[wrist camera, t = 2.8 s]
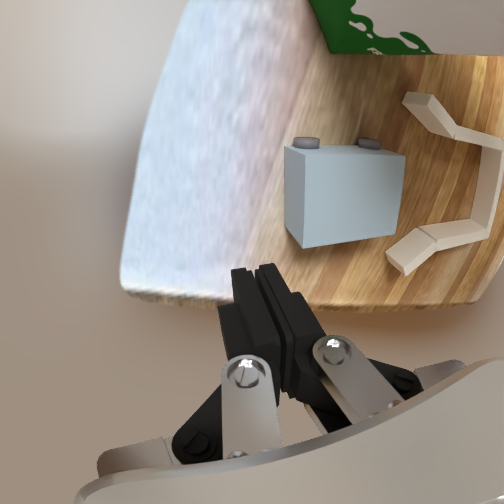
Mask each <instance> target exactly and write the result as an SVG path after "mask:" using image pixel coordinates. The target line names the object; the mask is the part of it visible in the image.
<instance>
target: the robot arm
mask: <svg viewBox="0 0 504 504" xmlns="http://www.w3.org/2000/svg"><path fill="white" fill-rule="evenodd" d="M231 277H232V287H233V297H234V303H233V304H227V305H221V306H218V313H219V319H220V325H221V330H222V336H223V340H224V345H225V349H226V354H227V358H228V362H227V363H226V364H225V366H224V367H223V370H222V383H221V385H220V386H219V387H218V388H217V389H216V390H215V391H214V393H212V395H211V396H210V397H209V398H208V399H207V400H206V401H205V402H204V403H203V404H202V406H201V407H200V408H199V409H198V410H197V411H196V412H195V413H194V414H193V415H192V416H191V417H190V419H189V420H188V421H187V422H186V423H185V424H184V425H183V426H182V427H181V428H180V429H179V430H178V431H177V432H176V434H175V435H174V436H172V437H169V438H165V439H163V438H162V437H160V438H156V439H152V440H149V441H145V442H141V443H137V444H133V445H128V446H124V447H120V448H115V449H110V450H107V451H105V452H103V453H102V454H101V455H100V456H99V458H98V461H97V471H98V475H99V479H96V480H94V481H92V482H90V483H88V484H86V485H85V486H83V487H82V488H81V489H80V490H79V491H78V492H77V494H76V496H75V498H74V501H73V504H504V358H490V359H484V360H480V361H477V362H475V363H472V364H470V365H468V366H466V365H465V364H464V363H463V362H461V361H458V360H449V361H445V362H441V363H438V364H434V365H430V366H425V367H421V368H417V369H415V370H414V372H411V371H409V370H406V369H403V368H399V367H396V366H392V365H389V364H385V363H382V362H378V361H375V360H372V359H368V358H366V357H365V356H364V355H363V354H362V352H361V351H360V350H359V349H358V348H357V347H356V346H355V345H354V343H352V342H351V341H350V340H349V339H347V338H345V337H342V336H338V335H329V336H326V334H325V332H324V330H323V329H322V327H321V326H320V324H319V322H318V320H317V319H316V317H315V316H314V314H313V312H312V311H311V309H310V307H309V306H308V304H307V302H306V301H305V299H304V297H303V296H302V294H301V293H300V292H293V293H291V292H290V290H289V288H288V286H287V285H286V283H285V281H284V279H283V278H282V276H281V274H280V272H279V271H278V269H277V267H276V265H275V264H274V263H270V264H264V265H260V266H259V269H256V270H255V278H254V275H253V273H252V271H251V270H250V271H247V270H246V268H239V269H232V270H231ZM280 389H281V391H282V392H287V393H288V396H289V398H290V399H291V398H296V400H298V401H300V402H302V403H304V407H305V409H306V410H307V412H308V414H309V415H310V417H311V418H312V420H313V421H314V423H315V424H316V426H317V427H318V429H319V430H320V432H321V434H322V435H323V436H320V437H317V438H314V439H310V440H308V441H304V442H301V443H297V444H294V445H290V446H287V447H283V446H282V439H281V433H280V426H279V420H278V414H277V407H278V405H279V395H280Z"/></svg>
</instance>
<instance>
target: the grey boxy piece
mask: <svg viewBox="0 0 504 504" xmlns="http://www.w3.org/2000/svg"><path fill="white" fill-rule="evenodd" d="M319 142H320V139H318V138H311V137H296V138H294V146H284V182H285V214H284V226H285V227H286V228H287V229H288V231H289V232H290V233H291V234H292V236H293V237H294V238H295V239H296V241H297V242H298V243H299V245H300V246H301V247H302V248H303V249H304V248H310V247H317V246H323V245H330V244H336V243H343V242H349V241H356V240H362V239H369V238H375V237H381V236H388V235H394V234H395V232H396V226H397V221H398V215H399V209H400V202H401V196H402V188H403V180H404V172H405V162H406V156H404V155H401V154H398V153H395V152H392V151H389V150H386V149H383V148H380V145H381V141H378V140H374V139H367V138H358V145H319Z"/></svg>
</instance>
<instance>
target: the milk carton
mask: <svg viewBox="0 0 504 504" xmlns="http://www.w3.org/2000/svg"><path fill="white" fill-rule="evenodd" d="M310 3H311V5H312V7H313V9H314V12H315V14H316V16H317V19H318V21H319V24H320V26H321V29H322V31H323V34H324V36H325V39H326V42H327V44H328V47H329V50H330V53H331V54H337V53H346V54H375V55H431V54H456V55H477V56H504V0H310Z"/></svg>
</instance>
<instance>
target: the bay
mask: <svg viewBox="0 0 504 504" xmlns="http://www.w3.org/2000/svg"><path fill="white" fill-rule="evenodd" d="M402 104H403V105H404V106H405V107H406V108H407V109H408V110H409V111H410V112H411V113H412V114H413V115H414V116H415V117H416V118H417V119H418V120H419V121H420V122H421V123H422V124H423V126H424V127H425V128H426V129H427V130H428V131H429V132H431V133H434V134H437V135H441V136H444V137H448V138H451V139H455V140H459V141H464V142H469V143H473V144H477V145H482V152H481V160H480V167H479V174H478V180H477V186H476V191H475V196H474V201H473V206H472V210H471V215H470V219H465V220H458V221H451V222H444V223H437V224H430V225H423V226H418V228H414V229H413V230H412V231H411V232H409V233H408V234H407V235H406V236H404V237H403V238H402V239H401V240H399V241H398V242H397V243H395V244H394V245H393V246H392V247H390V248H389V249H388V250H386V251H385V253H386V256H387V260H388V261H389V262H390V263H391V264H392V265H393V266H394V267H396V268H397V269H398V270H399V271H400V272H401V273H402V274H403V275H404V276H405V277H406V276H407V275H408V274H410V273H411V272H412V271H413V270H414V269H416V268H417V267H418V266H419V265H421V264H422V263H423V262H424V261H425V260H426V259H428V258H429V257H430V256H431V255H432V254H433V253H435V252H436V251H440V250H444V249H448V248H452V247H456V246H460V245H464V244H468V243H472V242H476V241H480V240H483V239H487V238H489V234H490V231H491V227H492V224H493V220H494V216H495V212H496V208H497V203H498V199H499V194H500V189H501V184H502V178H503V172H504V140H503V139H500V138H497V137H494V136H491V135H488V134H485V133H482V132H479V131H475V130H472V129H468V128H465V127H461V126H458V125H456V123H455V122H454V121H453V119H452V118H451V117H450V115H449V114H448V113H447V111H446V110H445V109H444V108H443V106H442V105H441V104H440V103H439V101H438V100H437V99H436V98H435V97H434V95H433V94H429V93H420V92H408V91H407V92H406V94H405V97H404V99H403V101H402Z"/></svg>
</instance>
